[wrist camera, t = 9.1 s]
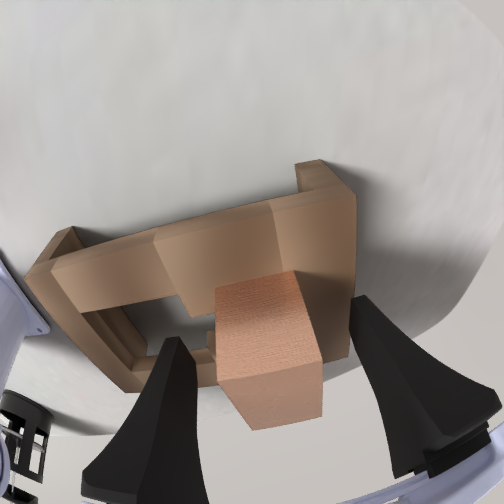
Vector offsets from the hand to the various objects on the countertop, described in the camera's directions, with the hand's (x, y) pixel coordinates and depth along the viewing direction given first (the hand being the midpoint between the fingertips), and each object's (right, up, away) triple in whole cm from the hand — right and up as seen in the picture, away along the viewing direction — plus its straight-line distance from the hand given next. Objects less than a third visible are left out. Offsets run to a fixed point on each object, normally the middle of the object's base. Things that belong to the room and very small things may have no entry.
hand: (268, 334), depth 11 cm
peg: (0, +2, +3) cm, 4 cm away
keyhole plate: (-3, +2, +4) cm, 6 cm away
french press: (-35, -20, +16) cm, 43 cm away
